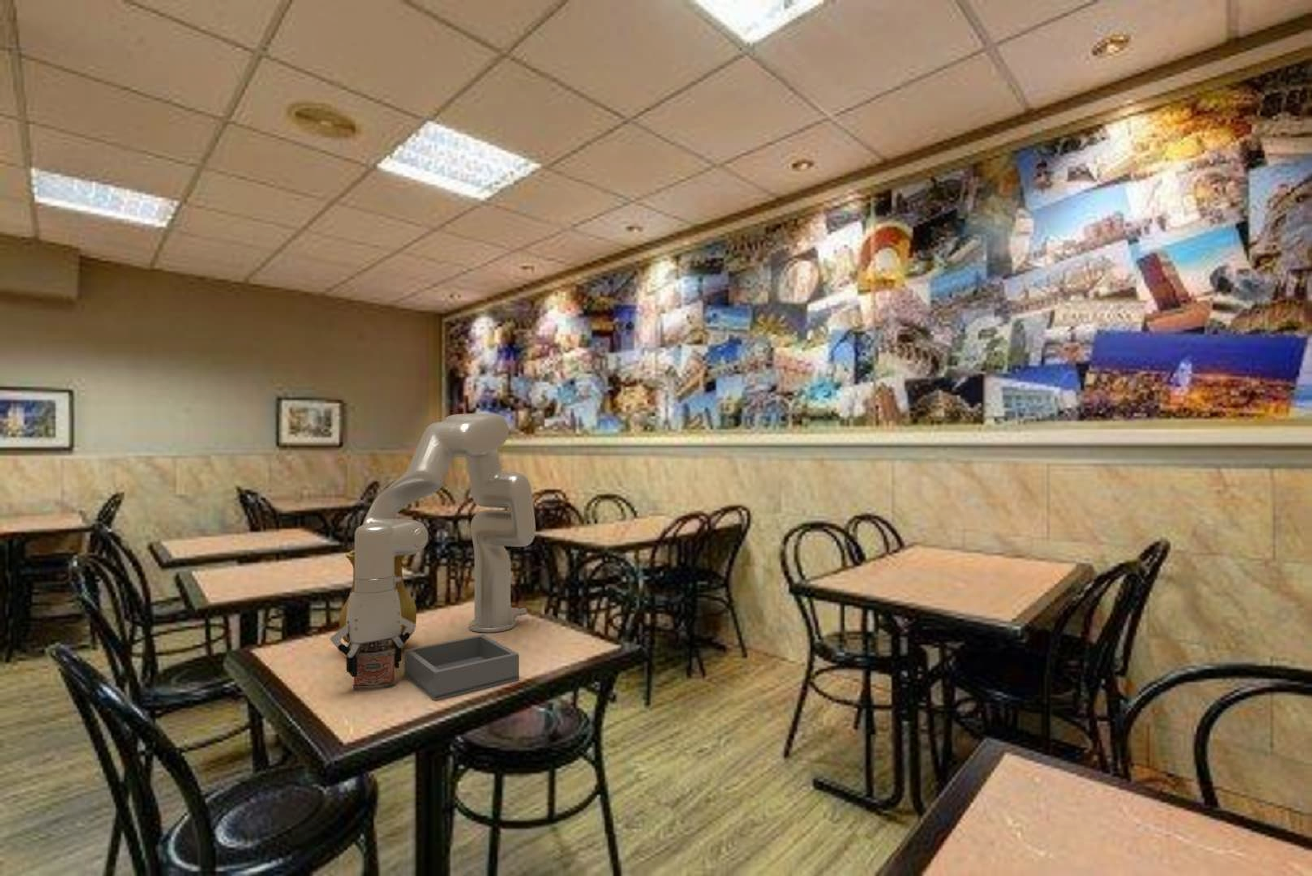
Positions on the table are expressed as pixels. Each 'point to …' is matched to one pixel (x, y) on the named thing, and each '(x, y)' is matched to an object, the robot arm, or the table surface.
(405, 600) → the pitcher
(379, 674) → the lighter
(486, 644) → the bin
